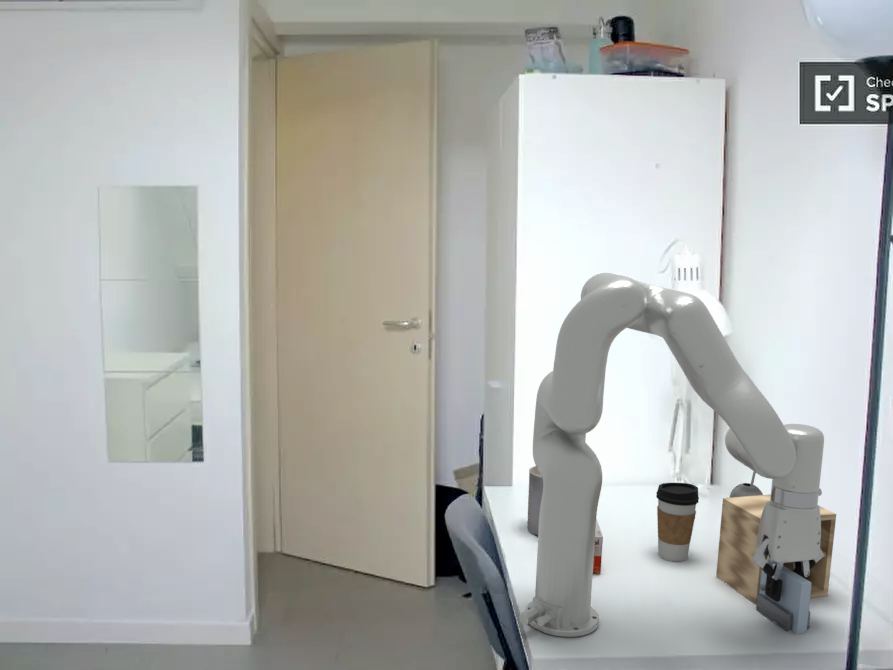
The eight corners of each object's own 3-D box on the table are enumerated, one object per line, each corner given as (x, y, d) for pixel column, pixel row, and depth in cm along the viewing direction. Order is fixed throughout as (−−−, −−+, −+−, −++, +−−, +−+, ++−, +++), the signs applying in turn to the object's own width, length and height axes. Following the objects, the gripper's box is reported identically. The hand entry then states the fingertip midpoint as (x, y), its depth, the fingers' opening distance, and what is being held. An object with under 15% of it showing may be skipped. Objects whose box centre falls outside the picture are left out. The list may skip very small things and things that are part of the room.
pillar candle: (569, 523, 186) (572, 459, 184) (571, 540, 176) (574, 472, 174) (526, 521, 187) (529, 457, 185) (526, 537, 177) (529, 470, 175)
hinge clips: (808, 628, 141) (810, 612, 140) (786, 631, 139) (788, 614, 139) (777, 607, 148) (779, 591, 148) (756, 609, 147) (757, 594, 147)
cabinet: (827, 595, 154) (836, 514, 152) (755, 604, 149) (763, 520, 147) (784, 569, 165) (791, 492, 163) (716, 576, 160) (722, 498, 158)
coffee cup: (695, 566, 165) (701, 494, 163) (652, 561, 167) (658, 490, 164) (692, 550, 173) (697, 482, 171) (651, 545, 175) (656, 478, 173)
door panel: (806, 632, 139) (811, 582, 138) (792, 634, 139) (797, 584, 137) (767, 605, 149) (771, 558, 148) (754, 607, 148) (758, 560, 147)
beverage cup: (727, 546, 176) (735, 456, 173) (763, 554, 172) (772, 462, 170) (719, 557, 170) (728, 464, 167) (756, 566, 166) (765, 471, 163)
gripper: (818, 486, 147) (808, 583, 149) (739, 492, 142) (730, 592, 144) (850, 500, 140) (839, 601, 142) (767, 507, 135) (757, 611, 137)
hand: (784, 595), depth 143 cm, fingers open, 4 cm apart
